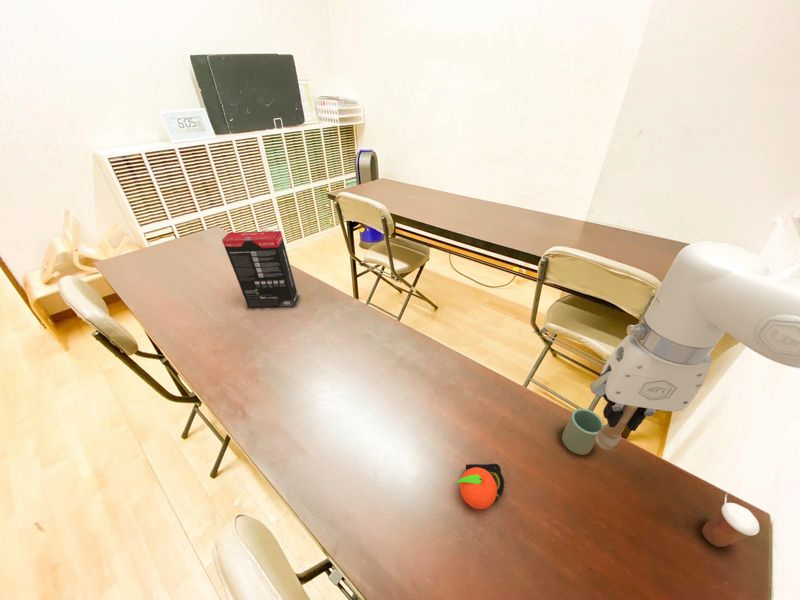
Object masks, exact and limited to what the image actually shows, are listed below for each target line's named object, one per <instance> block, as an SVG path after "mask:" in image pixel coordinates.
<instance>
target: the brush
mask: <svg viewBox="0 0 800 600" xmlns="http://www.w3.org/2000/svg"><path fill="white" fill-rule="evenodd" d="M637 409H638V407H636V406H630V405H624V407H623V408H622V410H623V416H622V417H621V419H620V420H619V422H618V423H617V425H616V426H615V427H614V428H613V427H609V424H608V422H607V423H606V424H604V425H603V426H602V427H601V429H600V430H599V432H598V434H597V435H596V444H597V445H598V446H599V448H601V449H603V450H605V451H613V450H614V449H615V448H616V447H617V445H618V444H619V442H620V441H621V440H622V432H623V431H624V429H625V428H626V427H627V426H628V425H627V423H628V422H629V421H630V419H631V418H632V416H633V415H634V413H635V412H636V410H637Z"/></svg>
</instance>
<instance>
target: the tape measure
mask: <svg viewBox="0 0 800 600" xmlns="http://www.w3.org/2000/svg"><path fill="white" fill-rule="evenodd" d="M474 467H479V468H483V469H485V470H486V471H488V472H489V473H490V474H491V475H492V477H493V478H494V480H495V482H496V485H497V496H496V499H495V501H494V503H495V502H497V501H498V500H500V498H501V497H502V494H503V492H504V489H505V478H504V476H503V474H502V469H501V466H500V465H499V464H498V463H487V464H486V463H485V464H484V463H483V464H481V463H480V464H478V463H470V464H469V463H466V464H465V472H466V471H467V470H468V469H471V468H474Z"/></svg>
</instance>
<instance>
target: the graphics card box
mask: <svg viewBox="0 0 800 600" xmlns="http://www.w3.org/2000/svg"><path fill="white" fill-rule="evenodd" d="M221 240H222V241H221V242H222V244H223V246H224V249H225V251H226V255H227V256H228V259H229V261H230V264H231V267H232V269H233V271H234V274H235V277H236V279H237V282H238V284H239V287H240V290H241V292H242V295H243V297H244V301H245V303H246V305H247V308H255V309H256V308H283V307H284V308H285V307H286V308H288V307H289V308H290V307H295V306H296V303H297V301H298V298H299V294H298V290H297V287H296V283H295V279H294V275H293V271H292V268H291V264H290V260H289V256H288V252H287V248H286V245H285V241H284V237H283V233H282V231H281V230H272V231H270V230H269V231H267V230H266V231H239V232H238V231H237V232H236V231H235V232H234V231H233V232H228V233H227V234H226V235H225V236H223V238H222V239H221Z"/></svg>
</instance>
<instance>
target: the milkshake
mask: <svg viewBox="0 0 800 600" xmlns="http://www.w3.org/2000/svg"><path fill="white" fill-rule="evenodd" d="M701 532H702V535H703V537H704V539H706V541H707V542H708V543H709V544H711V545H713V546H714V547H717V548H725V547H727V546H729V545H732V544H735V543H737V542H740V541H741V540H745V539H747V538H750V537H753V536H756V535H758V534H759V532H760V523H759V520H758V519H757V518H756V516H755V515H754V514H753V513H752V512H751V511H750V510H749V509H748V508H746V507H745V506H742V505H740V504H738V503H735V502H728V493H725V494H724V501H723V505H722V506H721V507H720V508H719V509H718V510H717V512H716V513H714V515H713V516H712V517H711V518H709V520H708V521H707V522H706V523H705V524H704V525H703V527H702V529H701Z"/></svg>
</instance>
